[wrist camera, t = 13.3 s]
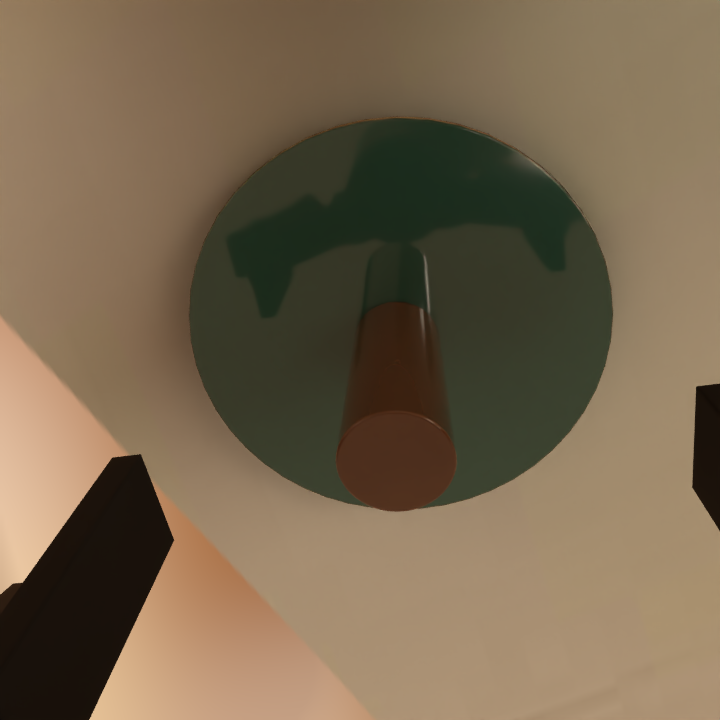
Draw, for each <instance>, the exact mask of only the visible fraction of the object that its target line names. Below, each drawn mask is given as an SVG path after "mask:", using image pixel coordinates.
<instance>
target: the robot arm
mask: <svg viewBox="0 0 720 720" xmlns="http://www.w3.org/2000/svg"><path fill="white" fill-rule="evenodd" d="M692 488H693V489H694V491H695V492H696V494H697V496H698V497H699V499H700V500H701V502H702V503H703V505H704V507H705V508H706V510H707V511H708V513H709V514H710V516H711V518H712V519H713V521H714V522H715V524H716V526H717V527H718V529H719V530H720V384H713V385H705V386H697V387H696V407H695V433H694V459H693V485H692ZM173 541H174V539H173V536H172V534H171V531H170V528H169V526H168V523H167V521H166V518H165V515H164V513H163V510H162V508H161V505H160V503H159V500H158V497H157V495H156V492H155V490H154V487H153V484H152V482H151V479H150V477H149V474H148V472H147V469H146V466H145V464H144V461H143V459H142V456H141V454H139V455H131V456H123V457H115V458H112V459H111V460H110V462H109V463H108V464H107V466H106V467H105V469H104V470H103V471H102V473H101V474H100V476H99V477H98V479H97V480H96V481H95V483H94V484H93V485H92V487H91V488H90V490H89V491H88V492H87V494H86V495H85V497H84V498H83V499H82V501H81V502H80V504H79V505H78V506H77V508H76V509H75V511H74V512H73V513H72V515H71V516H70V518H69V519H68V520H67V522H66V523H65V525H64V526H63V527H62V529H61V530H60V532H59V533H58V534H57V536H56V537H55V539H54V540H53V541H52V543H51V544H50V546H49V547H48V548H47V550H46V551H45V552H44V554H43V555H42V557H41V558H40V559H39V561H38V562H37V564H36V565H35V567H34V568H33V569H32V571H31V572H30V573H29V575H28V576H27V578H26V579H25V581H24V582H23V583H15V584H12V585H11V586H10V587H9V588H8V589H6V590H5V591H4V592H3V593H2V594H0V720H89V719H90V717H91V714H92V713H93V711H94V708H95V706H96V704H97V702H98V700H99V698H100V696H101V694H102V691H103V689H104V687H105V685H106V683H107V681H108V679H109V677H110V675H111V672H112V670H113V668H114V666H115V664H116V662H117V660H118V658H119V656H120V653H121V651H122V649H123V647H124V645H125V643H126V640H127V638H128V636H129V634H130V632H131V630H132V628H133V626H134V624H135V622H136V620H137V617H138V615H139V613H140V611H141V609H142V607H143V605H144V603H145V601H146V598H147V596H148V594H149V592H150V590H151V588H152V586H153V584H154V582H155V579H156V577H157V575H158V573H159V571H160V569H161V566H162V564H163V562H164V560H165V558H166V556H167V554H168V552H169V550H170V547H171V546H172V543H173Z"/></svg>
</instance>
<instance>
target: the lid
mask: <svg viewBox="0 0 720 720" xmlns="http://www.w3.org/2000/svg"><path fill="white" fill-rule="evenodd" d="M612 320H613V307H612V292H611V284H610V280H609V275H608V271H607V266H606V262H605V259H604V256H603V253H602V251H601V248H600V246H599V243H598V240H597V238H596V235H595V233H594V232H593V230H592V228H591V226H590V225H589V223H588V221H587V219H586V217H585V216H584V214H583V212H582V210H581V209H580V208H579V207H578V205H577V204H576V203H575V201H574V200H573V199H572V198H571V196H570V195H569V194H568V192H567V191H566V190H565V189H564V187H563V186H561V185H560V184H559V183H558V182H557V181H556V180H555V179H554V178H553V177H552V176H551V175H550V174H549V173H548V172H547V171H546V170H545V169H544V168H543V167H541V166H540V165H539V164H538V163H536V162H535V161H533V160H532V159H530V158H529V157H528V156H526V155H525V154H523V153H522V152H521V151H519V150H518V149H516V148H515V147H513V146H511V145H509V144H507V143H505V142H503V141H501V140H499V139H497V138H495V137H493V136H491V135H489V134H487V133H484V132H481V131H478V130H475V129H473V128H470V127H467V126H464V125H461V124H457V123H452V122H447V121H442V120H436V119H431V118H419V117H398V116H396V117H385V118H374V119H365V120H360V121H356V122H352V123H347V124H343V125H339V126H335V127H332V128H330V129H327V130H325V131H322V132H320V133H317V134H314V135H312V136H309V137H307V138H305V139H303V140H301V141H300V142H298V143H296V144H294V145H292V146H291V147H289V148H287V149H285V150H283V151H282V152H280V153H279V154H278V155H276V156H275V157H274V158H272V159H271V160H270V161H268V162H267V163H266V164H264V165H263V166H262V167H260V168H259V169H258V170H257V171H256V172H254V173H253V175H252V176H251V177H250V178H249V179H248V180H247V181H246V182H245V183H244V184H243V185H242V186H241V187H240V188H239V189H238V190H237V191H236V192H235V193H234V194H233V195H232V197H231V198H230V200H229V201H228V202H227V204H226V205H225V206H224V208H223V209H222V210H221V212H220V213H219V214H218V216H217V218H216V220H215V222H214V223H213V225H212V227H211V229H210V231H209V233H208V235H207V237H206V238H205V241H204V243H203V246H202V249H201V252H200V254H199V257H198V260H197V263H196V266H195V271H194V276H193V281H192V285H191V291H190V307H189V323H190V335H191V343H192V348H193V352H194V357H195V362H196V366H197V368H198V371H199V374H200V377H201V379H202V382H203V385H204V388H205V390H206V392H207V394H208V395H209V397H210V399H211V401H212V403H213V405H214V407H215V409H216V411H217V412H218V413H219V415H220V416H221V418H222V419H223V421H224V422H225V424H226V425H227V426H228V428H229V429H230V430H231V432H232V433H233V434H234V435H235V436H236V437H237V438H238V439H239V441H240V442H241V443H242V444H243V445H244V446H245V447H246V448H247V449H248V450H249V451H250V452H251V453H253V454H254V455H255V456H256V457H257V458H258V459H259V460H261V461H262V462H263V463H264V464H265V465H267V466H268V467H270V468H271V469H273V470H274V471H276V472H277V473H278V474H280V475H281V476H283V477H284V478H286V479H288V480H290V481H292V482H294V483H296V484H297V485H299V486H301V487H303V488H305V489H307V490H310V491H312V492H315V493H317V494H320V495H322V496H325V497H328V498H331V499H335V500H338V501H342V502H345V503H349V504H354V505H360V506H365V507H371V508H377V509H380V510H385V511H395V512H397V511H409V510H414V509H421V508H428V507H435V506H442V505H447V504H451V503H455V502H459V501H463V500H467V499H470V498H473V497H475V496H478V495H481V494H483V493H486V492H489V491H491V490H493V489H495V488H497V487H499V486H501V485H503V484H505V483H507V482H509V481H511V480H513V479H515V478H516V477H518V476H519V475H521V474H522V473H524V472H525V471H527V470H528V469H530V468H531V467H533V466H534V465H535V464H537V463H538V462H539V461H540V460H541V459H543V458H544V457H545V456H546V455H547V454H549V453H550V452H551V451H552V450H553V449H554V448H555V447H556V446H557V445H558V444H559V443H560V442H561V441H562V439H563V438H564V437H565V436H566V435H567V434H568V433H569V432H570V431H571V429H572V428H573V426H574V425H575V424H576V422H577V421H578V419H579V418H580V417H581V415H582V414H583V413H584V411H585V409H586V407H587V405H588V404H589V402H590V400H591V398H592V396H593V394H594V392H595V391H596V388H597V386H598V383H599V381H600V378H601V375H602V373H603V370H604V367H605V364H606V360H607V355H608V351H609V346H610V342H611V333H612Z"/></svg>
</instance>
